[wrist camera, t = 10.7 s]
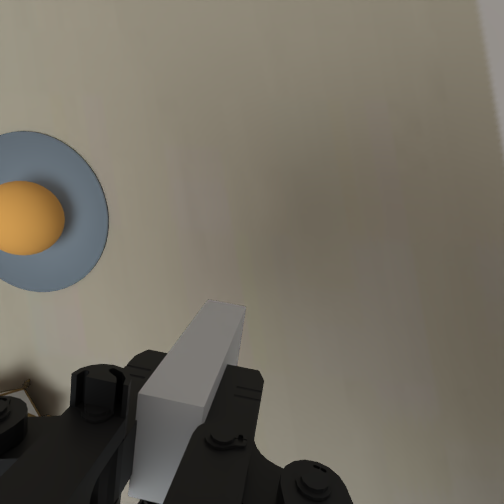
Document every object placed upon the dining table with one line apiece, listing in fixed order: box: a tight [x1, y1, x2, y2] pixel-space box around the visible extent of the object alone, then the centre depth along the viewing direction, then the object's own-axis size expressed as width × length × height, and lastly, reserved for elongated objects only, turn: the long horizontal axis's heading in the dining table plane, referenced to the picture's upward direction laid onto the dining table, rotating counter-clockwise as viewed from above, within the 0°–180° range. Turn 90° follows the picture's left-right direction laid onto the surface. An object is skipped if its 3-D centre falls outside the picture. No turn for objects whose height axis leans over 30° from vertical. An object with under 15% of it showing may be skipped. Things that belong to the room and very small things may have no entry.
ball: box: [0, 181, 65, 255], centre depth 29 cm, size 6×6×6 cm
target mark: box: [0, 131, 108, 292], centre depth 32 cm, size 13×13×1 cm
